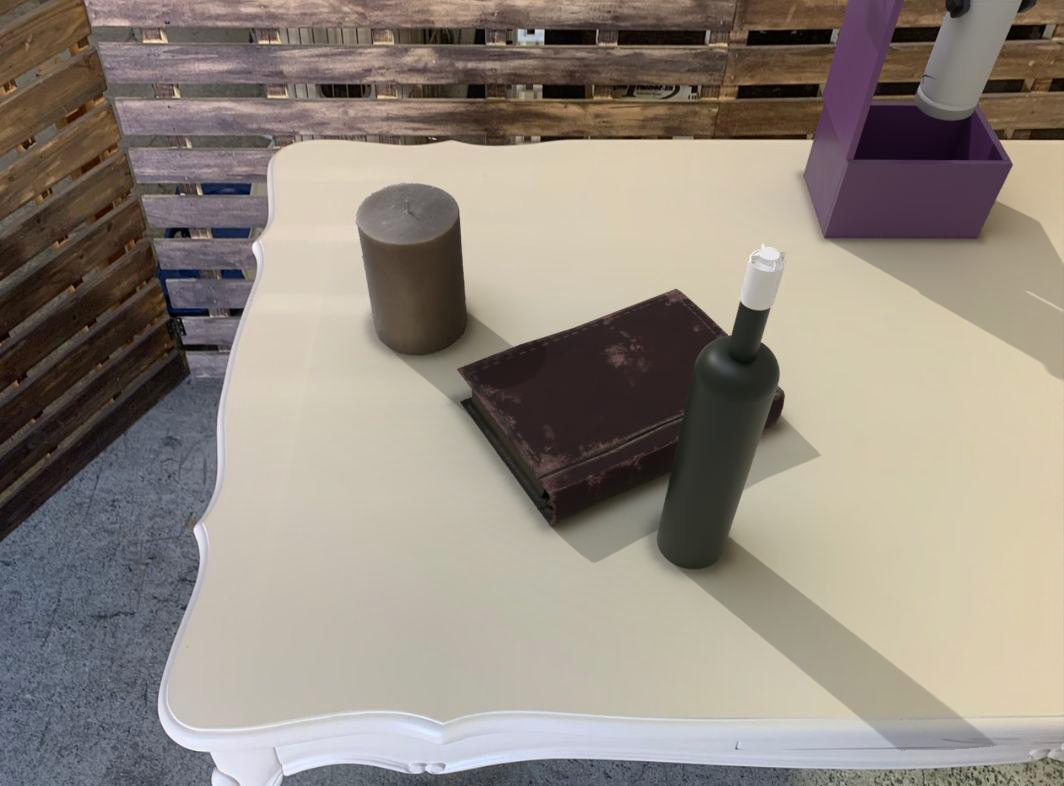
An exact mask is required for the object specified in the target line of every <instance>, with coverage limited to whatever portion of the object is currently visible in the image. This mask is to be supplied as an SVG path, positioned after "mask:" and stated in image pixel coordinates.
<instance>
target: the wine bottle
mask: <svg viewBox="0 0 1064 786" xmlns="http://www.w3.org/2000/svg"><path fill="white" fill-rule="evenodd" d="M786 253H787V250H784V251H779V250H778V249H776V248H775V247H771V246H766V245H765V244H764V242H762V243H761V246H760V249H756V250H754V251H753V252H751V254H750V255H749V258H748V262H747V266H746V269H745V274H744V278H743V282H742V285H741V290H740V293H739V303H738V307H737V311H736V315H735V320H734V323H733V327H732V331H731V333H730V334H731V335H729V334H728V335H729V336H724V337H721V338H718V339H716V340H714V341H712V342H710V343H709V344H708V345H707V346H705V347H704V348H703V350H702V351H701V352H700V354H699V355H698V357H697V359H696V362H695V365H694V370H693V375H692V379H691V384H690V388H689V393H688V397H687V402H686V406H685V411H684V415H683V420H682V424H681V429H680V434H679V438H678V443H677V447H676V452H675V456H674V461H673V465H672V470H671V471H670V476H669V479H668V482H667V483H668V484H667V489H666V493H665V498H664V501H663V506H662V512H661V516H660V520H659V525H658V529H657V533H656V544H657V547H658V550H659V551H660V553H661V555H662V556H663V557H664V559H666V560H667V561H668V562H670V563H671V564H673V565H674V566H677V567H680V568H682V569H688V570H701V569H702V570H703V569H706V568H708V567H710V566H712V565H714V564H715V563H717V561H719V559H721V556H722V555H723V552H724V549H725V548H726V547H725V546H726V545H727V540H728V538H729V535H730V531H731V528H732V525H733V523H734V519H735V516H736V513H737V510H738V507H739V505H740V501H741V498H742V495H743V493H744V489H745V486H746V483H747V480H748V477H749V474H750V471H751V467H752V466H753V462H754V459H755V455H756V453H757V450H758V446H759V443H760V441H761V439H762V435H763V431H764V430H765V429H764V426H765V423H766V420H767V417H768V414H769V411H770V407H771V404H772V401H773V398H774V395H775V392H776V389H777V386H779V383H780V378H781V377H780V376H781V370H780V365H779V361H778V359H777V357H776V355H775V354H774V352H773V351H772V350H771V349H770V347H768V346H767V345H766V344H765V343H763V342H762V341H763V340H762V339H763V336H764V332H765V329H766V326H767V322H768V319H769V315H770V313H771V309H772V307H773V306H774V303H775V300H776V298H777V294H778V290H779V287H780V283H781V280H782V277H783V273H784V270H785V266H786V264H787V263H786V258H785V257H786Z"/></svg>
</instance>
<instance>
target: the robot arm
mask: <svg viewBox="0 0 1064 786" xmlns="http://www.w3.org/2000/svg"><path fill="white" fill-rule="evenodd" d="M1037 1H1038V0H1022V2H1021V4H1020V7H1019V9H1018V11H1017V13H1016V14H1025V13H1026V12H1028V11H1029V10H1032V9H1033V8H1034V7H1035V6H1036V5H1037ZM944 3H945V9H946V13H947V12H950V17H951V18H959V17H961V16H962V15H964V14H965V13H967V12H968V11H969V9H970V0H945V1H944Z"/></svg>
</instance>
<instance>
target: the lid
mask: <svg viewBox="0 0 1064 786" xmlns="http://www.w3.org/2000/svg"><path fill="white" fill-rule="evenodd" d="M904 1H905V0H848V1H847V4H846V8H845V12H844V15H843V18H842V23H841V26H840V30H839V34H838V38H837V42H836V45H835V49H834V53H833V56H832V59H831V64H830V67H829V71H828V74H827V79H826V82H825V85H824V89H823V92H822V97H821V98H822V100H823V104H824V103H825V105H826V108H827V111H828V113H829V116H830V118H831V121H832V124H833V126H834V129H835V132H836V134H837V137H838V139H839V142H840V145H841V147H842V150H843V152H844V155H845V158H846V159H854V156H855V152H856V149H857V146H858V143H859V140H860V137H861V133H862V130H863V127H864V124H865V121H866V118H867V115H868V111H869V108H870V105H871V102H873V99H874V95H875V92H876V89H877V87H878V84H879V80H880V77H881V73H882V70H883V67H884V64H885V61H886V57H887V55H888V51H889V48H890V45H891V42H892V39H893V36H894V34H895V33H894V32H895V29H896V26H897V23H898V20H899V16H900V13H901V10H902V7H903V4H904Z"/></svg>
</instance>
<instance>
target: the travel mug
mask: <svg viewBox="0 0 1064 786" xmlns="http://www.w3.org/2000/svg"><path fill="white" fill-rule="evenodd" d="M1021 2H1022V0H970V9H969V11H968V12H967V13H965V14H964V15H962V16H961V17H959V18H951V17H950V12H947V11H946V13H945V16H944V18H943V20H942V23H941V26H940V29H939V32H938V33H937V37H936V39H935V42H934V45H933V48H932V50H931V53H930V56H929V58H928V61H927V64H926V66H925V68H924V72H923V74H922V77H921V79H920V83H919V85H918V88H917V90H916V92H915V96H914V102H915V104H916V106H917V107H918V108H919V109H920V110H921V111H922V112H923V113H925V114H926V115H928V116H931V117H933V118H936V119H941V120H948V121H954V120H961V119H964V118H967V117H969V116H970V115H971V114H972V113H973V112H974V110H975V108H976V105H977V103H978V104H979V101H980V98H981V96H982V95H983V91H984V89H985V87H986V85H987V82H988V81H989V78H990V75H991V73H992V71H993V69H994V66H995V65H996V62H997V59H998V57H999V55H1000V53H1001V51H1002V48H1003V45H1004V43H1005V41H1006V39H1007V36H1008V34H1009V32H1010V30H1011V27H1012V25H1013V22H1014V20H1015V19H1016V16H1017V14H1018V13H1017V11H1018V9H1019V7H1020V4H1021Z"/></svg>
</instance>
